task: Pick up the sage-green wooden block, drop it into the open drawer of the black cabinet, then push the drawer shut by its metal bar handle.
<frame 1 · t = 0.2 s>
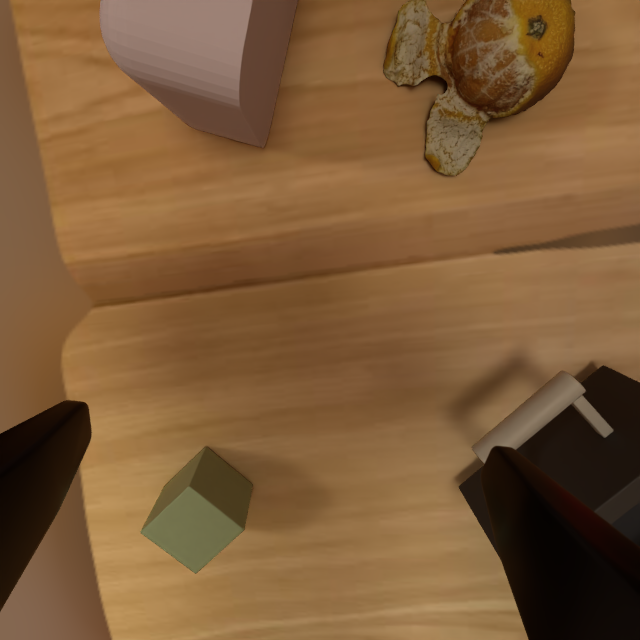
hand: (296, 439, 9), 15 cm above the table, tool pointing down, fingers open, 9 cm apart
block: (208, 485, 26), on the table
drawer: (611, 510, 23), point 4 cm above the table, slide at 8.5 cm
electronic device: (241, 37, 21), on the table
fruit: (457, 71, 21), on the table
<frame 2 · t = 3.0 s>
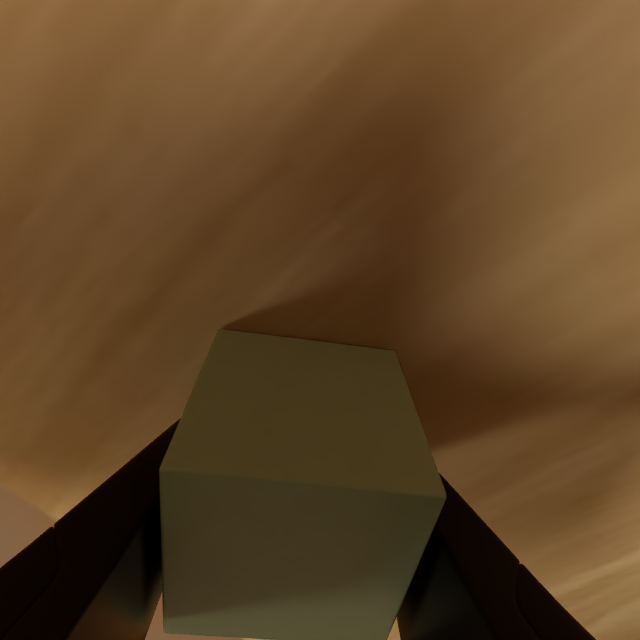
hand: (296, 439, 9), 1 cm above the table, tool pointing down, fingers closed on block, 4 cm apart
block: (296, 409, 10), on the table, touching gripper
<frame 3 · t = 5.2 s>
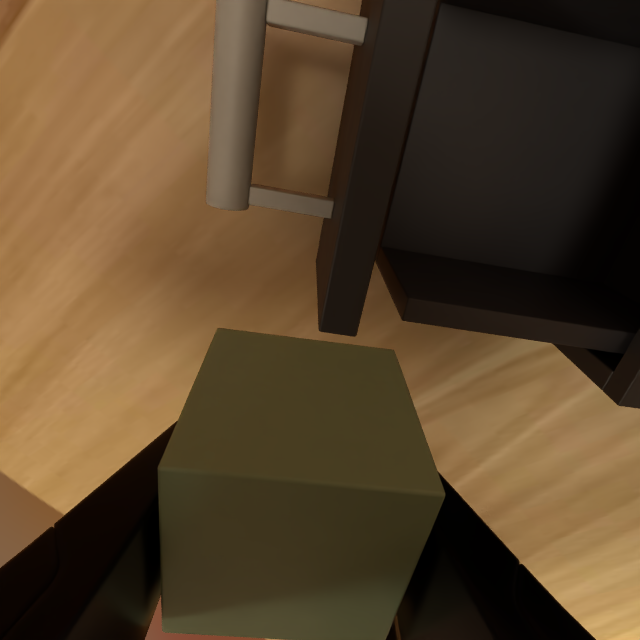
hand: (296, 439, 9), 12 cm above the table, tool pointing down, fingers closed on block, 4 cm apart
block: (296, 408, 10), point 11 cm above the table, touching gripper
drawer: (484, 154, 14), point 4 cm above the table, slide at 8.5 cm
when the fingers open (8 cm above the table, at t = 7.5 s): block drops 5 cm, resting on drawer.
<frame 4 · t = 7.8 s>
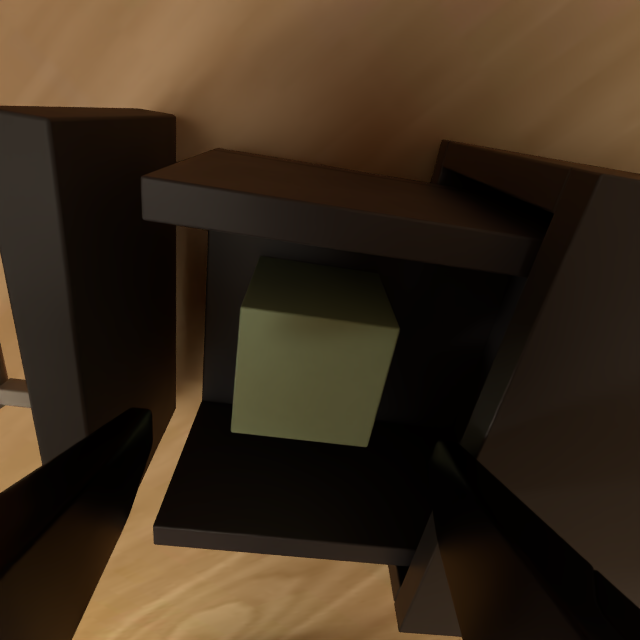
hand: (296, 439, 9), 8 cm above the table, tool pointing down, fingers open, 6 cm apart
block: (311, 317, 15), point 2 cm above the table, touching drawer
drawer: (259, 345, 12), point 4 cm above the table, slide at 8.5 cm, touching block
cabinet: (566, 331, 17), on the table
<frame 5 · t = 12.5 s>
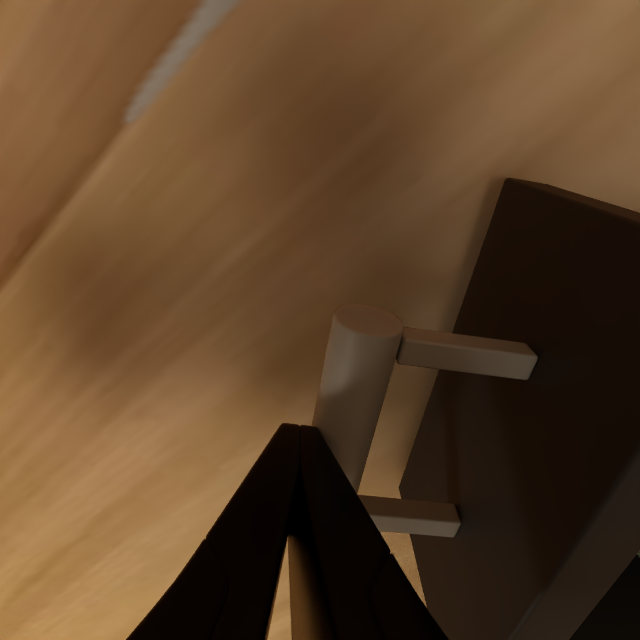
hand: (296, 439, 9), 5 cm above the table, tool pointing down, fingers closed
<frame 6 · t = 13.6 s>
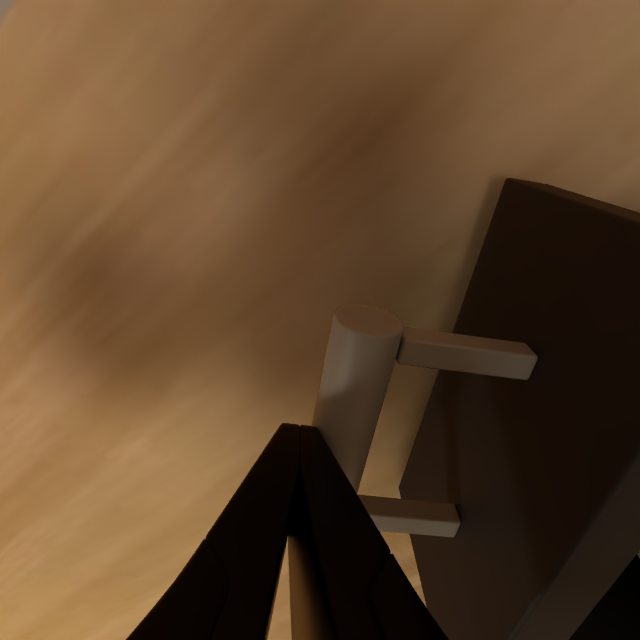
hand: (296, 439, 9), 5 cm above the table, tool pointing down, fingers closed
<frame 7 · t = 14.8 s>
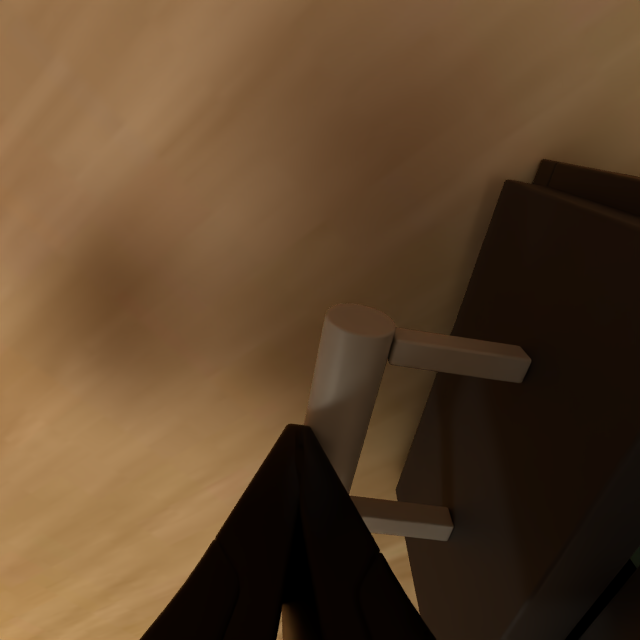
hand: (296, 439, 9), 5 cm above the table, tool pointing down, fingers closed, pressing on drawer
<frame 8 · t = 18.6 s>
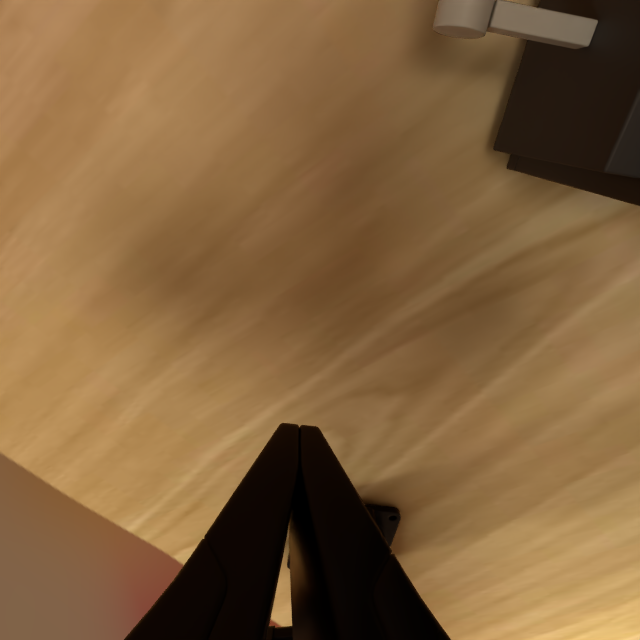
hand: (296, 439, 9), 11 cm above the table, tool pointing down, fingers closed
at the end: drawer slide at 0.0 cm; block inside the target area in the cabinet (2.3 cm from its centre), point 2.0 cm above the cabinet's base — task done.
